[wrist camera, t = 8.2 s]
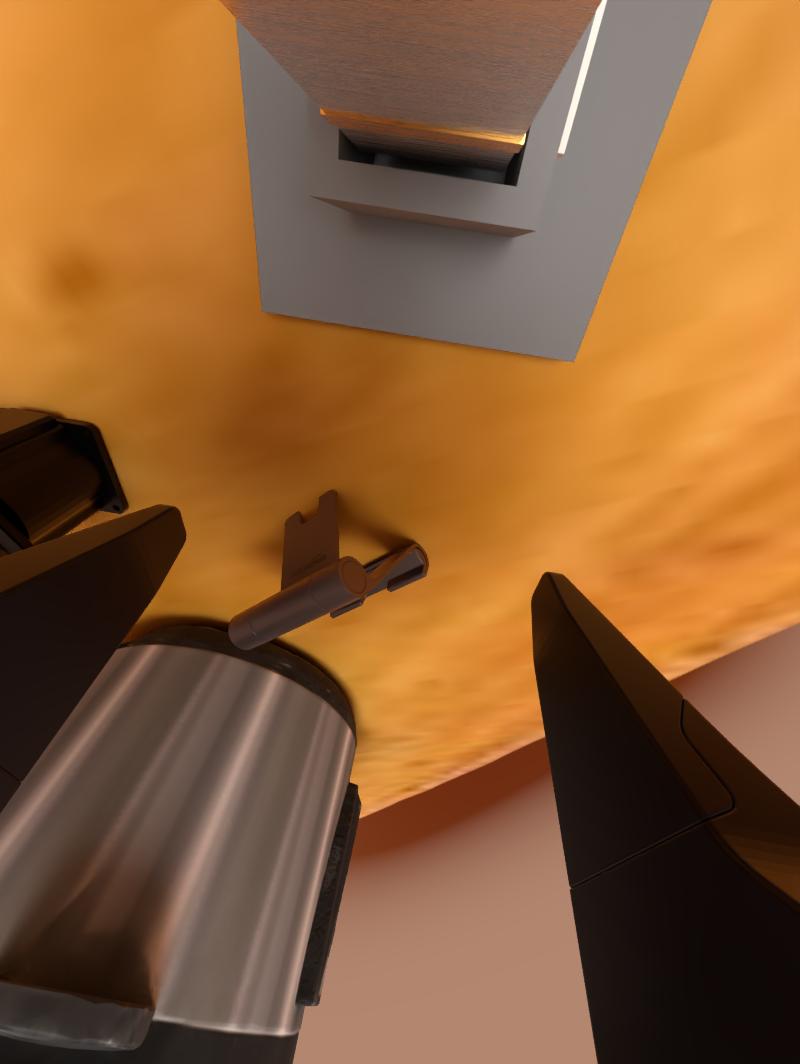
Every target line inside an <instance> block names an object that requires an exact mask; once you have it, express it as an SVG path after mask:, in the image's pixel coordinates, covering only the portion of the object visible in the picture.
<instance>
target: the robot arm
mask: <svg viewBox="0 0 800 1064" xmlns="http://www.w3.org/2000/svg"><path fill="white" fill-rule="evenodd" d="M87 431H88V432H89V433H88V432H87ZM99 510H101V511H106V512H112V513H118V514H121V513H123V512H124V511H126V510H127V504H126V502H125V499H124V497H123V494H122V491H121V489H120V486H119V484H118V481H117V479H116V476H115V473H114V471H113V468H112V466H111V463H110V461H109V458H108V455H107V453H106V450H105V448H104V445H103V443H102V440H101V437H100V435H99V432H98V431H97V429H96V428H95V427H94V426H93V425H91V424H89V423H85V422H79V421H73V420H67V419H61V418H56V417H54V416H52V415H50V414H45V413H39V412H33V411H27V410H21V409H15V408H10V409H3V408H0V814H1V812H2V811H3V809H4V808H5V807H6V805H7V804H8V802H9V801H10V800H11V798H12V797H13V795H14V794H15V793H16V791H17V790H18V788H19V787H20V785H21V784H22V783H21V782H22V781H23V780H24V779H25V778H26V777H27V775H28V774H29V772H30V771H31V770H32V768H33V767H34V765H35V764H36V763H37V761H38V760H39V758H40V757H41V755H42V754H43V753H44V751H45V750H46V748H47V747H48V746H49V744H50V743H51V741H52V740H53V739H54V737H55V736H56V734H57V733H58V732H59V730H60V729H61V727H62V726H63V724H64V723H65V722H66V720H67V719H68V717H69V716H70V715H71V713H72V712H73V710H74V709H75V708H76V706H77V705H78V703H79V702H80V701H81V699H82V698H83V696H84V695H85V693H86V692H87V691H88V689H89V688H90V686H91V685H92V684H93V682H94V681H95V679H96V678H97V677H98V675H99V674H100V672H101V671H102V670H103V668H104V667H105V665H106V664H107V663H108V661H109V660H110V658H111V657H112V655H113V654H114V653H115V651H116V650H117V648H118V647H119V646H120V644H121V643H122V641H123V640H124V639H125V637H126V636H127V634H128V633H129V632H130V630H131V629H132V627H133V626H134V624H135V623H136V622H137V620H138V619H139V617H140V616H141V615H142V613H143V612H144V610H145V609H146V608H147V606H148V605H149V603H150V602H151V600H152V599H153V598H154V596H155V595H156V593H157V591H158V590H159V588H160V586H161V585H162V583H163V581H164V579H165V578H166V576H167V574H168V572H169V570H170V569H171V567H172V565H173V563H174V561H175V560H176V558H177V556H178V554H179V552H180V551H181V549H182V547H183V545H184V543H185V541H186V531H185V527H184V524H183V520H182V517H181V513H180V511H179V509H178V508H176V507H174V506H169V505H163V504H158V505H155V506H152V507H149V508H146V509H143V510H140V511H137V512H134V513H131V514H128V515H125V516H122V517H119V518H116V519H113V520H110V521H107V522H104V523H101V524H99V525H96V526H93V527H90V528H87V529H84V530H81V531H78V532H75V533H72V534H69V535H66V536H64V535H65V534H67V533H68V532H70V531H71V530H72V529H74V528H75V527H77V526H78V525H79V524H81V523H82V522H84V521H85V520H86V519H88V518H89V517H91V516H92V515H93V514H95V513H96V512H98V511H99ZM531 613H532V638H533V659H534V667H535V674H536V681H537V687H538V693H539V699H540V706H541V712H542V718H543V724H544V730H545V737H546V743H547V749H548V755H549V762H550V768H551V774H552V780H553V787H554V793H555V799H556V805H557V812H558V818H559V824H560V830H561V837H562V843H563V849H564V855H565V861H566V868H567V874H568V880H569V885H570V887H571V889H570V894H571V901H572V906H573V913H574V919H575V925H576V931H577V938H578V944H579V950H580V956H581V963H582V969H583V976H584V982H585V988H586V994H587V1000H588V1007H589V1013H590V1019H591V1025H592V1031H593V1038H594V1044H595V1050H596V1056H597V1062H598V1064H800V806H799V805H798V804H797V803H795V802H794V801H793V800H792V799H791V798H790V797H789V796H788V795H787V794H786V793H784V792H783V791H782V790H781V789H780V788H779V787H778V786H777V785H776V784H775V783H773V782H772V781H771V780H770V779H769V778H768V777H767V776H766V775H765V774H763V773H762V772H761V771H760V770H759V769H758V768H757V767H756V766H755V765H754V764H753V763H752V762H751V761H749V760H748V759H747V758H746V757H745V756H744V755H743V754H742V753H741V752H740V751H739V750H737V748H735V747H734V746H733V745H732V744H731V743H730V742H729V741H728V740H727V739H726V738H725V737H724V736H723V735H722V734H721V733H720V732H719V731H718V730H717V729H716V728H715V727H714V726H713V725H711V723H710V722H709V721H708V720H706V719H705V717H704V716H703V715H702V714H700V712H698V710H697V709H696V708H695V707H694V706H693V705H692V704H691V703H690V702H689V701H688V700H686V699H683V696H682V694H681V693H680V692H679V691H678V690H677V689H676V688H675V687H674V686H673V685H672V684H671V683H670V682H669V681H668V680H667V679H666V678H665V677H664V676H663V675H662V674H661V673H660V672H659V671H658V670H657V669H656V668H655V667H654V666H653V665H652V664H651V663H650V662H649V661H648V660H647V659H646V658H645V657H644V656H643V655H642V654H641V653H640V652H639V651H638V650H637V649H636V648H635V647H634V646H633V645H632V644H631V643H630V642H629V641H628V639H627V638H626V637H625V636H624V635H623V634H622V633H621V632H620V631H619V630H618V629H617V628H616V627H615V626H614V625H613V624H612V623H611V622H610V621H609V620H608V619H607V618H606V617H605V616H604V615H603V614H602V613H601V612H600V611H599V610H598V609H597V608H596V607H595V606H594V605H593V604H592V603H591V602H590V601H589V600H588V599H587V598H586V597H585V596H584V595H583V594H582V593H581V592H580V591H579V590H578V589H577V588H576V587H575V586H574V585H573V584H572V583H571V582H570V581H569V580H568V579H567V578H566V577H565V576H564V575H563V574H559V573H553V572H545V573H544V574H543V575H542V577H541V579H540V581H539V583H538V585H537V587H536V589H535V591H534V593H533V596H532V600H531Z"/></svg>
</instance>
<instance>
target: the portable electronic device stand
mask: <svg viewBox="0 0 800 1064" xmlns="http://www.w3.org/2000/svg"><path fill="white" fill-rule="evenodd" d="M301 518H302V517H301V513H299V512H297V513H295V514H294V515H292V516H291V517H289V518H288V519H287V521H286V523H285V535H284V550H283V565H282V580H281V591H280V592H279V593H277V594H275V595H273V596H271V597H269V598H267V599H266V600H264V601H262V602H260V603H258V604H256V605H255V606H253V607H251V608H249V609H247V610H245V611H244V612H242V613H240V614H238V615H236V616H235V617H234V618H233V619H232V620H231V622H230V624H229V628H228V633H229V637H230V639H231V641H232V643H233V644H234V645H235V646H236V647H238V648H240V649H243V650H249V649H252V648H254V647H257V646H259V645H261V644H264V643H267V642H269V641H271V640H273V639H275V638H277V637H278V636H280V635H282V634H285V633H287V632H289V631H291V630H293V629H295V628H298V627H300V626H302V625H304V624H306V623H308V622H311V621H313V620H315V619H317V618H319V617H321V616H323V615H326V614H328V613H330V616H331V617H332V618H335V617H337V616H339V615H341V614H343V613H346V612H348V611H350V610H352V609H355V608H357V607H359V606H361V605H362V604H363V602H364V600H365V598H366V597H368V596H370V595H373V594H375V593H377V592H379V591H381V590H383V589H386V588H387V590H388V591H390V592H392V591H394V590H397V589H399V588H401V587H403V586H405V585H408V584H410V583H412V582H414V581H416V580H419V579H421V578H423V577H425V576H426V575H427V571H428V567H429V561H428V558H427V555H426V553H425V551H424V550H423V548H422V547H421V546H420V545H418V544H416V543H415V544H413V545H411V546H409V547H404V548H402V549H400V550H398V551H396V553H395V554H393V555H391V556H389V557H387V558H385V559H383V560H381V561H379V562H377V563H375V564H373V565H371V566H369V567H367V568H365V569H364V568H363V566H362V565H361V564H360V563H359V562H358V561H357V560H356V559H355V558H353V557H350V556H346V557H343V558H341V559H339V533H338V505H337V493H336V492H335V491H334V490H330V491H328V492H327V493H325V494H324V495H322V496H321V497H320V498H319V506H318V512H317V514H316V516H314V517H313V518H311V519H310V520H308V521H307V522H305V523H303V524H302V519H301Z"/></svg>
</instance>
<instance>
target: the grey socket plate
mask: <svg viewBox="0 0 800 1064" xmlns="http://www.w3.org/2000/svg"><path fill="white" fill-rule="evenodd" d="M711 3H712V0H602V2H601V4H600V5H599V7H598V9H597V10H596V12H595V14H594V16H593V17H592V19H591V21H590V23H589V24H588V26H587V28H586V30H585V31H584V33H583V35H582V37H581V38H580V40H579V42H578V44H577V45H576V47H575V49H574V51H573V52H572V54H571V56H570V57H569V59H568V61H567V63H566V64H565V66H564V68H563V70H562V71H561V73H560V75H559V77H558V78H557V80H556V82H555V84H554V85H553V87H552V89H551V91H550V92H549V94H548V96H547V98H546V99H545V101H544V103H543V105H542V106H541V108H540V110H539V111H538V113H537V115H536V117H535V118H534V120H533V122H532V124H531V125H530V127H529V129H528V131H527V132H526V136H525V140H524V144H523V146H522V148H521V149H520V151H519V153H514V155H513V157H512V158H511V160H510V162H509V164H508V165H507V167H506V169H505V171H504V172H503V173H502V172H496V171H489V170H483V169H476V168H469V167H463V166H456V165H450V164H443V163H436V162H430V161H423V160H417V159H410V158H403V157H397V156H390V155H384V154H377V153H371V152H364V151H360V150H359V149H358V148H357V147H356V146H355V145H354V144H353V143H352V142H351V141H350V140H349V139H348V138H347V136H346V135H345V134H344V133H343V132H342V131H341V130H340V129H339V128H338V127H337V126H333V125H330V124H329V123H328V122H327V121H326V120H325V119H324V118H323V117H322V116H321V114H320V108H319V106H318V105H317V104H316V103H315V102H314V101H313V100H312V99H311V98H310V97H309V96H308V95H307V94H306V92H305V91H304V90H303V89H302V88H301V87H300V86H299V85H298V84H297V83H296V82H295V81H294V80H293V79H292V77H291V76H290V75H289V74H288V73H287V72H286V71H285V70H284V69H283V68H282V67H281V66H280V65H279V63H278V62H277V61H276V60H275V59H274V58H273V57H272V56H271V55H270V54H269V53H268V52H267V51H266V50H265V48H264V47H263V46H262V45H261V44H260V43H259V42H258V41H257V40H256V39H255V38H254V37H253V36H252V35H251V33H250V32H249V31H248V30H247V29H246V28H245V27H244V26H243V25H242V24H241V23H240V22H239V21H238V19H237V18H236V23H237V34H238V45H239V57H240V68H241V79H242V90H243V102H244V113H245V124H246V135H247V147H248V158H249V169H250V180H251V192H252V203H253V214H254V225H255V237H256V248H257V259H258V270H259V282H260V293H261V304H262V312H268V313H274V314H280V315H286V316H292V317H298V318H304V319H311V320H317V321H323V322H329V323H335V324H341V325H348V326H354V327H360V328H366V329H372V330H378V331H385V332H391V333H397V334H403V335H409V336H415V337H422V338H428V339H434V340H440V341H446V342H452V343H459V344H465V345H471V346H477V347H483V348H489V349H495V350H502V351H508V352H514V353H520V354H526V355H532V356H539V357H545V358H551V359H557V360H563V361H569V362H574V360H575V358H576V355H577V352H578V350H579V347H580V344H581V342H582V339H583V337H584V334H585V331H586V329H587V326H588V324H589V321H590V318H591V316H592V313H593V311H594V308H595V305H596V303H597V300H598V297H599V295H600V292H601V290H602V287H603V284H604V282H605V279H606V277H607V274H608V271H609V269H610V266H611V264H612V261H613V258H614V256H615V253H616V250H617V248H618V245H619V243H620V240H621V237H622V235H623V232H624V230H625V227H626V224H627V222H628V219H629V217H630V214H631V211H632V209H633V206H634V204H635V201H636V198H637V196H638V193H639V190H640V188H641V185H642V183H643V180H644V177H645V175H646V172H647V170H648V167H649V164H650V162H651V159H652V157H653V154H654V151H655V149H656V146H657V143H658V141H659V138H660V136H661V133H662V130H663V128H664V125H665V123H666V120H667V117H668V115H669V112H670V110H671V107H672V104H673V102H674V99H675V96H676V94H677V91H678V89H679V86H680V83H681V81H682V78H683V76H684V73H685V70H686V68H687V65H688V63H689V60H690V57H691V55H692V52H693V50H694V47H695V44H696V42H697V39H698V36H699V34H700V31H701V29H702V26H703V23H704V21H705V18H706V16H707V13H708V10H709V8H710V5H711Z"/></svg>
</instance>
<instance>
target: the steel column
mask: <svg viewBox="0 0 800 1064" xmlns="http://www.w3.org/2000/svg"><path fill="white" fill-rule="evenodd" d="M220 1H221V2H222V3H223V4H224V6H225V7H226V8H227V9H228V10H229V11H230V12H231V13H232V14H233V15H234V16H235V17H236V18H237V19H238V21H239V22H240V23H241V24H242V25H243V26H244V27H245V28H246V29H247V30H248V31H249V32H250V33H251V35H252V36H253V37H254V38H255V39H256V40H257V41H258V42H259V43H260V44H261V45H262V46H263V47H264V48H265V50H266V51H267V52H268V53H269V54H270V55H271V56H272V57H273V58H274V59H275V60H276V61H277V62H278V63H279V65H280V66H281V67H282V68H283V69H284V70H285V71H286V72H287V73H288V74H289V75H290V76H291V77H292V79H293V80H294V81H295V82H296V83H297V84H298V85H299V86H300V87H301V88H302V89H303V90H304V91H305V92H306V94H307V95H308V96H309V97H310V98H311V99H312V100H313V101H314V102H315V103H316V104H317V105H318V106H319V108H320V114H321V116H322V117H323V118H324V119H325V120H326V121H327V122H328V123H329V124H330V125H333V126H337V127H338V128H339V129H340V130H341V131H342V132H343V133H344V134H345V135H346V136H347V138H348V139H349V140H350V141H351V142H352V143H353V144H354V145H355V146H356V147H357V148H358V149H359V150H360V151H364V152H371V153H377V154H384V155H390V156H397V157H403V158H410V159H417V160H423V161H430V162H436V163H443V164H450V165H456V166H463V167H469V168H476V169H483V170H489V171H496V172H502V173H503V172H504V171H505V169H506V167H507V165H508V164H509V162H510V160H511V158H512V157H513V155H514V153H519V151H520V149H521V148H522V146H523V144H524V140H525V136H526V132H527V131H528V129H529V127H530V125H531V124H532V122H533V120H534V118H535V117H536V115H537V113H538V111H539V110H540V108H541V106H542V105H543V103H544V101H545V99H546V98H547V96H548V94H549V92H550V91H551V89H552V87H553V85H554V84H555V82H556V80H557V78H558V77H559V75H560V73H561V71H562V70H563V68H564V66H565V64H566V63H567V61H568V59H569V57H570V56H571V54H572V52H573V51H574V49H575V47H576V45H577V44H578V42H579V40H580V38H581V37H582V35H583V33H584V31H585V30H586V28H587V26H588V24H589V23H590V21H591V19H592V17H593V16H594V14H595V12H596V10H597V9H598V7H599V5H600V4H601V2H602V0H220Z"/></svg>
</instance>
